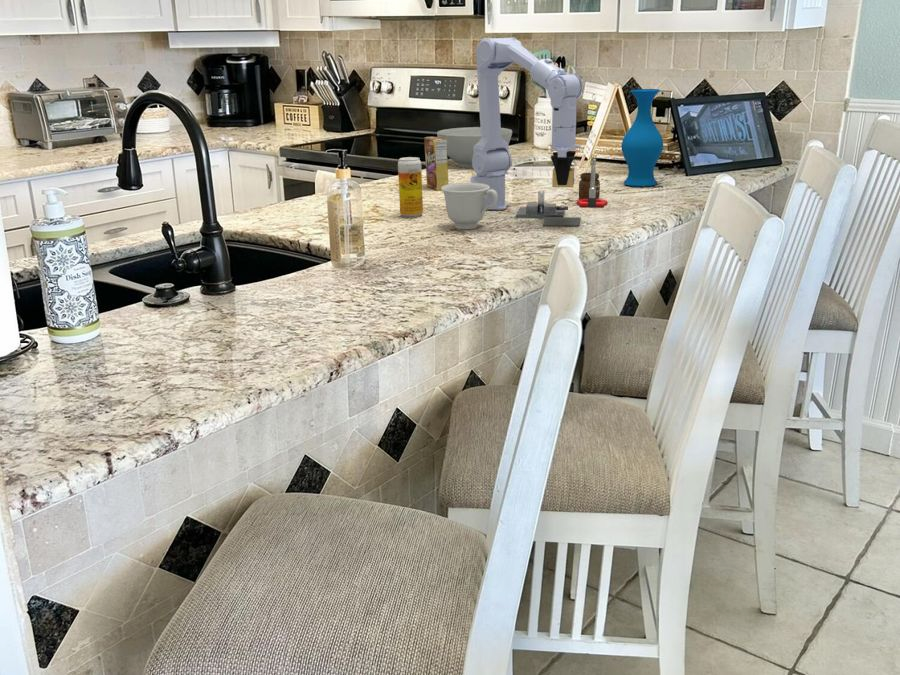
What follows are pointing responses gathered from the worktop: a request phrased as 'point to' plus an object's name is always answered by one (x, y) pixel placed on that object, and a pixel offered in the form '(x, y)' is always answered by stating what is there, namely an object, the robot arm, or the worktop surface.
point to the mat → (562, 221)
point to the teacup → (467, 203)
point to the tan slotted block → (569, 182)
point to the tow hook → (592, 193)
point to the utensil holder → (588, 183)
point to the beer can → (410, 187)
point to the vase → (642, 142)
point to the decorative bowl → (466, 143)
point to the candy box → (436, 162)
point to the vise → (541, 209)
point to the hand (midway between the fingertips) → (562, 183)
